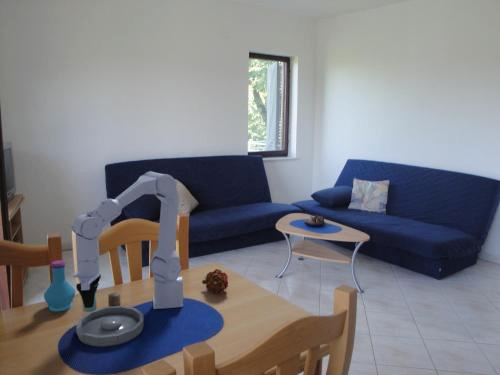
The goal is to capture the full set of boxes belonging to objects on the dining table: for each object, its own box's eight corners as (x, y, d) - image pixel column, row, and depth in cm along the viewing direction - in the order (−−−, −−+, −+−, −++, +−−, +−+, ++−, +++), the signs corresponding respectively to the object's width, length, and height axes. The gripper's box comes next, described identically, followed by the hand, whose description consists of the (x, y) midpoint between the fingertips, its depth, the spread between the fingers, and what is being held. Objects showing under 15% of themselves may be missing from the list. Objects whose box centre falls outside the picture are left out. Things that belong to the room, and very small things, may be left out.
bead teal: (97, 305, 117) (96, 289, 116) (95, 311, 114) (95, 294, 113) (83, 306, 116) (83, 290, 116) (81, 312, 113) (81, 295, 112)
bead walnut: (120, 306, 132) (120, 292, 131) (120, 311, 128) (119, 297, 128) (109, 307, 131) (108, 293, 130) (108, 312, 127) (107, 297, 127)
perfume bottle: (64, 314, 125) (61, 268, 123) (37, 311, 127) (35, 265, 125) (82, 301, 134) (80, 258, 132) (57, 298, 136) (54, 256, 134)
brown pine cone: (219, 303, 140) (209, 293, 151) (237, 286, 142) (226, 278, 153) (205, 285, 138) (195, 277, 149) (223, 268, 140) (213, 261, 151)
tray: (143, 312, 128) (143, 303, 128) (143, 342, 111) (142, 333, 111) (82, 317, 124) (82, 308, 124) (72, 350, 107) (72, 340, 106)
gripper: (77, 250, 119) (79, 294, 121) (67, 268, 105) (70, 317, 107) (102, 249, 120) (104, 292, 123) (96, 266, 106) (98, 314, 109)
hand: (90, 303), depth 115 cm, fingers closed on bead teal, 4 cm apart
